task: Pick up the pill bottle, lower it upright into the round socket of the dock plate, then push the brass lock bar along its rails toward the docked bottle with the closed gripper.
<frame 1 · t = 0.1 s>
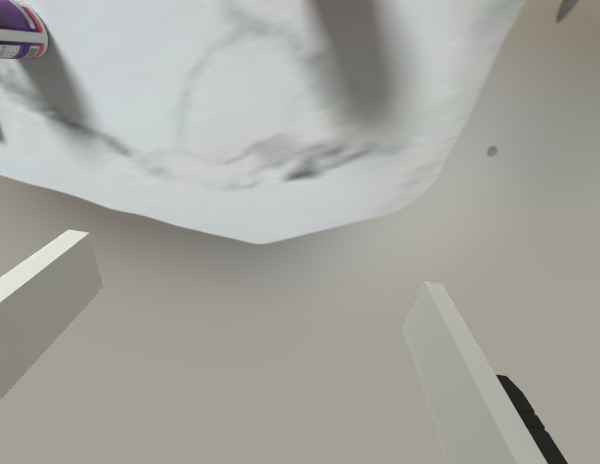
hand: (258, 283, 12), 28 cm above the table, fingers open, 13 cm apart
pill bottle: (25, 29, 32), on the table
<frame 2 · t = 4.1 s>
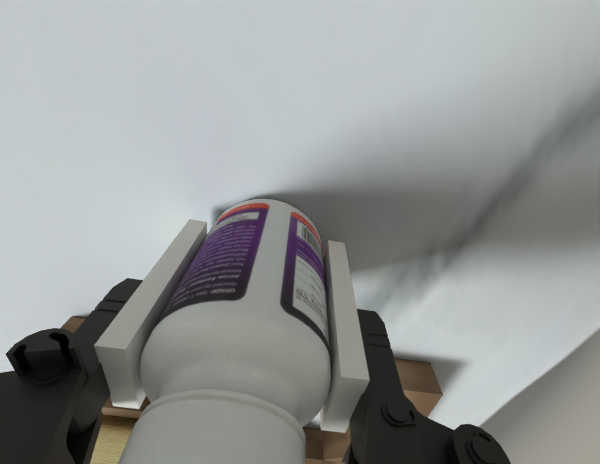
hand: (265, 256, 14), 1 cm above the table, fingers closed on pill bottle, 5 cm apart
pill bottle: (267, 244, 14), on the table, touching gripper
dock plate: (250, 396, 21), on the table
lock bar: (115, 455, 17), point 4 cm above the table, slide at 0.0 cm
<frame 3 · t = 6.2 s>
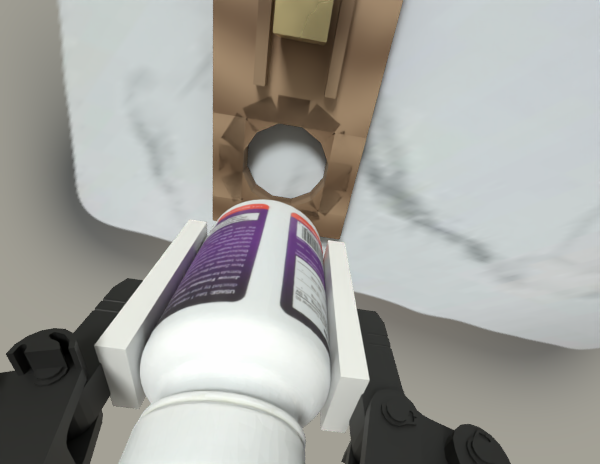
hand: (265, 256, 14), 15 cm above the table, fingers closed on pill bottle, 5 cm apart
pill bottle: (267, 244, 14), point 14 cm above the table, touching gripper
dock plate: (294, 101, 24), on the table
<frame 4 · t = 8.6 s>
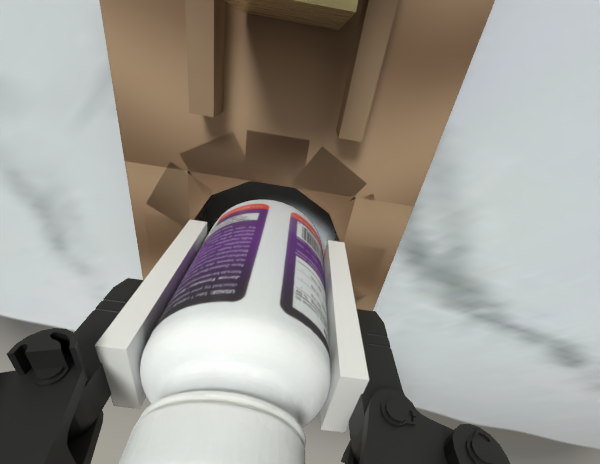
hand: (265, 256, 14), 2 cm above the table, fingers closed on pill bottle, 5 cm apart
pill bottle: (267, 244, 14), point 1 cm above the table, touching gripper
dock plate: (281, 136, 13), on the table
when the fingers open (2 cm above the table, at t = 8.7 s): pill bottle drops 1 cm, resting in dock plate.
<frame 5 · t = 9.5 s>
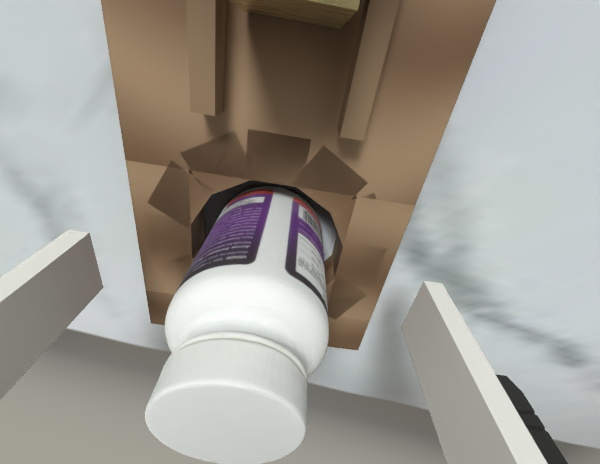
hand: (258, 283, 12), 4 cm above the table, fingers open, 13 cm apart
pill bottle: (271, 229, 16), resting in dock plate
dock plate: (282, 135, 13), on the table
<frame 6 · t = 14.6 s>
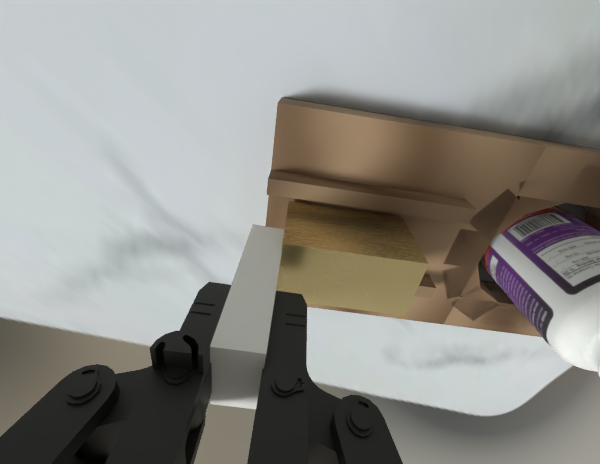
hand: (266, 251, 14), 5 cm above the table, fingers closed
pill bottle: (520, 239, 19), resting in dock plate
dock plate: (445, 230, 18), on the table
lock bar: (343, 255, 14), point 4 cm above the table, slide at 0.1 cm, touching gripper
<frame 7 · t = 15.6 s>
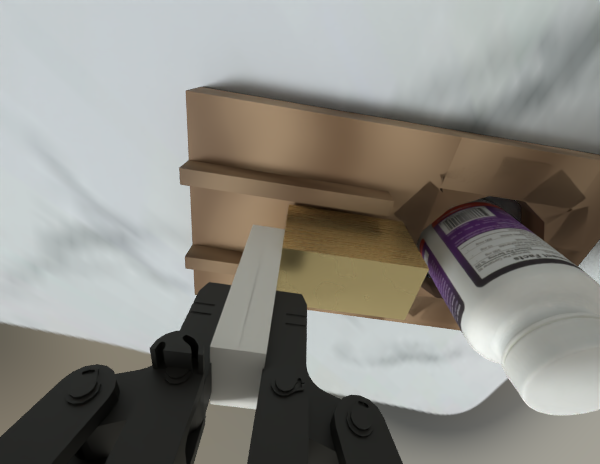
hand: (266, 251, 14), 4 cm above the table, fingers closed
pill bottle: (458, 234, 18), resting in dock plate
dock plate: (382, 224, 18), on the table
lock bar: (343, 259, 14), point 4 cm above the table, slide at 4.1 cm, touching gripper
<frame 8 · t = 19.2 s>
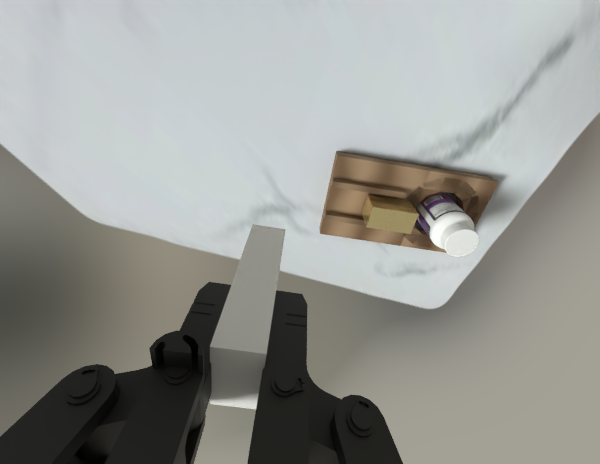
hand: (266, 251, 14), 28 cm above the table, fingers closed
pill bottle: (432, 207, 44), resting in dock plate
dock plate: (400, 203, 43), on the table
lock bar: (388, 213, 39), point 4 cm above the table, slide at 4.2 cm
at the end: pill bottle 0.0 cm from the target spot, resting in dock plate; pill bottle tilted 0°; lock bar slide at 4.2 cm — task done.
